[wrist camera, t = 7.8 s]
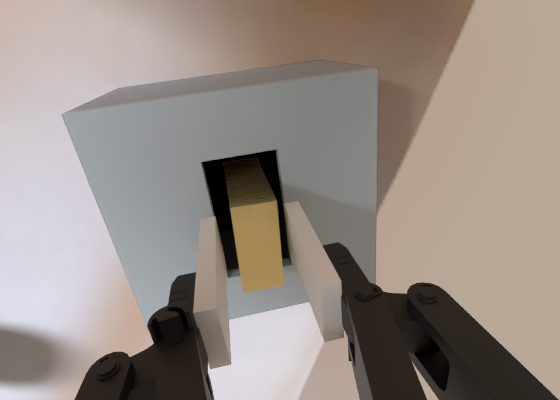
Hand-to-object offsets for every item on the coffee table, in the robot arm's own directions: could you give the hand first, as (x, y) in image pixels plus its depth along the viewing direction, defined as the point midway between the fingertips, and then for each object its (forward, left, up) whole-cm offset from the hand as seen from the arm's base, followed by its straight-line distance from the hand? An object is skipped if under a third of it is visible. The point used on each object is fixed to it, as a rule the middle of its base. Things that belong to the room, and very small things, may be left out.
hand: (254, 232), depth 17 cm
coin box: (0, 0, -12) cm, 12 cm away
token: (0, 0, -6) cm, 6 cm away
